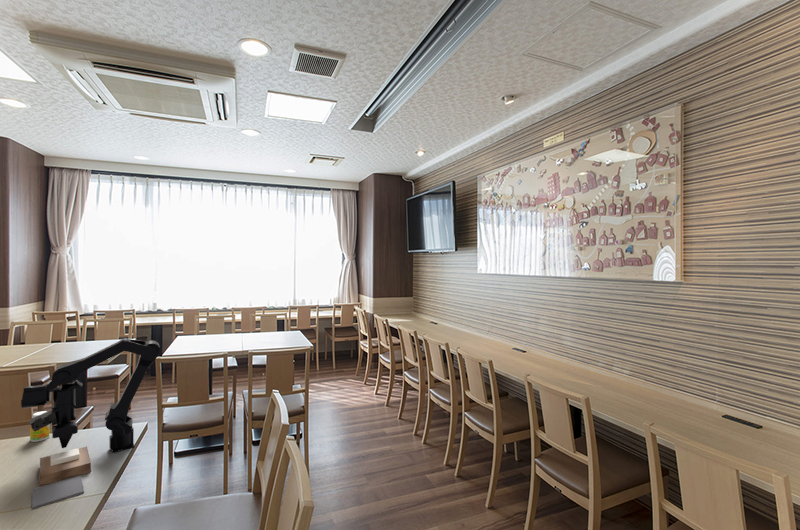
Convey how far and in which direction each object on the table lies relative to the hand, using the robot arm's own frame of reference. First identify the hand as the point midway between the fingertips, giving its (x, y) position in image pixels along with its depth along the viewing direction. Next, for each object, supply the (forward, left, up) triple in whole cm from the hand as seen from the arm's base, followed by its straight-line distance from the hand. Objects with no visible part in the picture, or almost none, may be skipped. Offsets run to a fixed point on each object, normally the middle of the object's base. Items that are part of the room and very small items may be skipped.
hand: (64, 447), depth 130 cm
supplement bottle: (+6, -25, -4) cm, 26 cm away
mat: (+2, +22, -4) cm, 23 cm away
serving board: (0, +8, -4) cm, 9 cm away
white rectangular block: (0, +7, -1) cm, 8 cm away
